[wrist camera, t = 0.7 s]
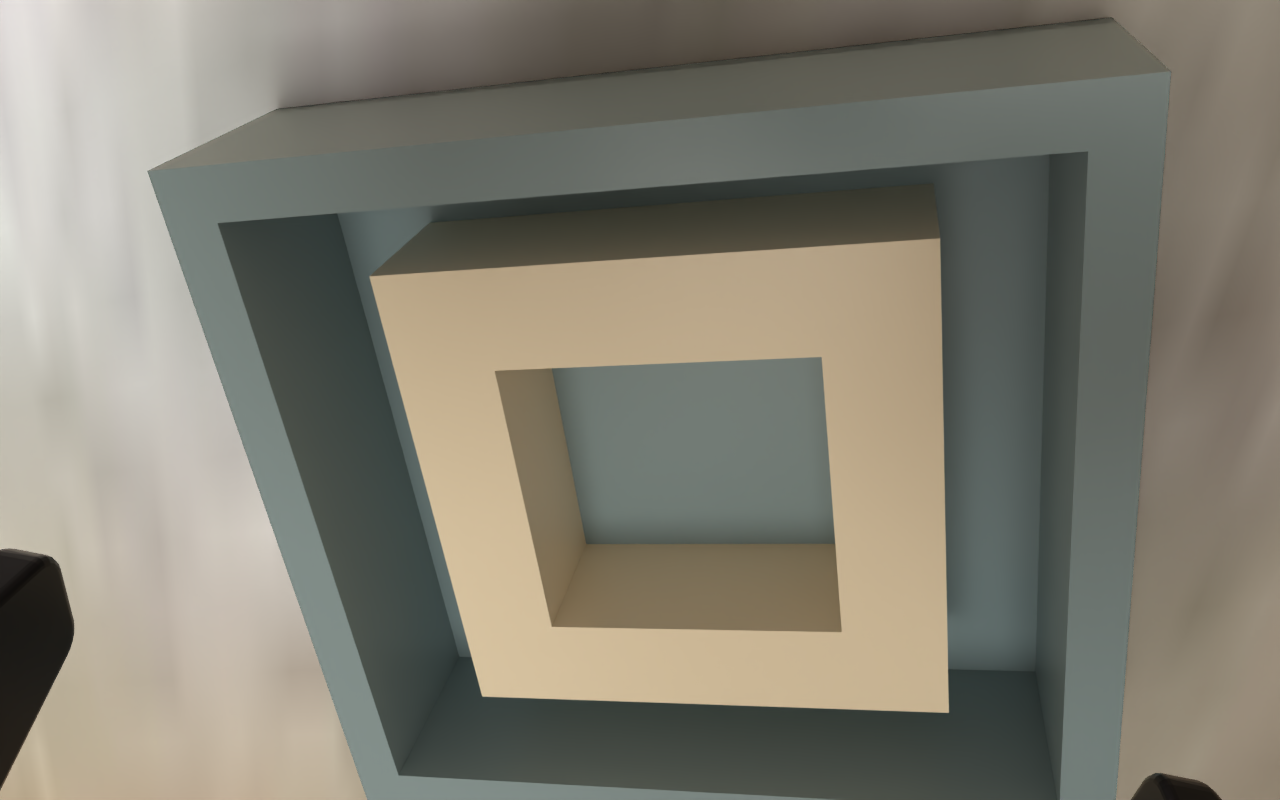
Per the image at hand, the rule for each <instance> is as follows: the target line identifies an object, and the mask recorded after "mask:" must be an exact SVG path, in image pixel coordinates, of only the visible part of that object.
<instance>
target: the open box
mask: <svg viewBox="0 0 1280 800" xmlns="http://www.w3.org/2000/svg"><path fill="white" fill-rule="evenodd" d="M1170 79H1171V71H1170V70H1169V69H1168V68H1167V67H1166V66H1165V65H1163V64H1162V63H1161V62H1160V61H1159V60H1158V59H1157V58H1156V57H1155V56H1154V55H1152V54H1151V53H1150V52H1149V51H1148V50H1147V49H1146V48H1145V47H1144V46H1143V45H1141V44H1140V43H1139V42H1138V41H1137V40H1136V39H1135V38H1134V37H1133V36H1132V35H1130V34H1129V33H1128V32H1127V31H1126V30H1125V29H1124V28H1123V27H1122V26H1121V25H1119V24H1118V23H1117V22H1116V21H1115V20H1114V19H1113V18H1103V19H1094V20H1085V21H1076V22H1067V23H1058V24H1049V25H1039V26H1030V27H1021V28H1012V29H1003V30H994V31H985V32H976V33H966V34H957V35H948V36H939V37H930V38H921V39H912V40H903V41H894V42H884V43H875V44H866V45H857V46H848V47H839V48H830V49H821V50H811V51H802V52H793V53H784V54H775V55H766V56H757V57H748V58H739V59H729V60H720V61H711V62H702V63H693V64H684V65H675V66H666V67H656V68H647V69H638V70H629V71H620V72H611V73H602V74H593V75H584V76H574V77H565V78H556V79H547V80H538V81H529V82H520V83H511V84H501V85H492V86H483V87H474V88H465V89H456V90H447V91H438V92H429V93H419V94H410V95H401V96H392V97H383V98H374V99H365V100H356V101H346V102H337V103H328V104H319V105H310V106H301V107H292V108H283V109H276V110H274V111H272V112H270V113H267V114H265V115H263V116H261V117H259V118H257V119H255V120H253V121H251V122H249V123H247V124H245V125H242V126H240V127H238V128H236V129H234V130H232V131H230V132H228V133H226V134H224V135H222V136H220V137H217V138H215V139H213V140H211V141H209V142H207V143H205V144H203V145H201V146H199V147H197V148H195V149H192V150H190V151H188V152H186V153H184V154H182V155H180V156H178V157H176V158H174V159H172V160H170V161H167V162H165V163H163V164H161V165H159V166H157V167H155V168H153V169H151V170H149V171H148V174H149V177H150V180H151V183H152V186H153V188H154V191H155V194H156V197H157V200H158V203H159V206H160V208H161V211H162V214H163V217H164V220H165V223H166V226H167V228H168V231H169V234H170V237H171V240H172V243H173V246H174V248H175V251H176V254H177V257H178V260H179V263H180V266H181V268H182V271H183V274H184V277H185V280H186V283H187V286H188V288H189V291H190V294H191V297H192V300H193V303H194V306H195V308H196V311H197V314H198V317H199V320H200V323H201V326H202V328H203V331H204V334H205V337H206V340H207V343H208V346H209V348H210V351H211V354H212V357H213V360H214V363H215V366H216V368H217V371H218V374H219V377H220V380H221V383H222V386H223V388H224V391H225V394H226V397H227V400H228V403H229V406H230V408H231V411H232V414H233V417H234V420H235V423H236V426H237V428H238V431H239V434H240V437H241V440H242V443H243V446H244V448H245V451H246V454H247V457H248V460H249V463H250V466H251V468H252V471H253V474H254V477H255V480H256V483H257V486H258V488H259V491H260V494H261V497H262V500H263V503H264V506H265V508H266V511H267V514H268V517H269V520H270V523H271V526H272V528H273V531H274V534H275V537H276V540H277V543H278V546H279V548H280V551H281V554H282V557H283V560H284V563H285V566H286V568H287V571H288V574H289V577H290V580H291V583H292V586H293V588H294V591H295V594H296V597H297V600H298V603H299V606H300V608H301V611H302V614H303V617H304V620H305V623H306V626H307V628H308V631H309V634H310V637H311V640H312V643H313V646H314V648H315V651H316V654H317V657H318V660H319V663H320V666H321V668H322V671H323V674H324V677H325V680H326V683H327V686H328V688H329V691H330V694H331V697H332V700H333V703H334V706H335V708H336V711H337V714H338V717H339V720H340V723H341V726H342V728H343V731H344V734H345V737H346V740H347V743H348V746H349V748H350V751H351V754H352V757H353V760H354V763H355V766H356V768H357V771H358V774H359V777H360V780H361V783H362V786H363V788H364V791H365V794H366V797H367V800H1116V791H1117V778H1118V765H1119V751H1120V738H1121V725H1122V712H1123V699H1124V686H1125V672H1126V659H1127V646H1128V633H1129V620H1130V606H1131V593H1132V580H1133V567H1134V554H1135V540H1136V527H1137V514H1138V501H1139V488H1140V474H1141V461H1142V448H1143V435H1144V422H1145V409H1146V395H1147V382H1148V369H1149V356H1150V343H1151V329H1152V316H1153V303H1154V290H1155V277H1156V263H1157V250H1158V237H1159V224H1160V211H1161V197H1162V184H1163V171H1164V158H1165V145H1166V132H1167V118H1168V105H1169V92H1170Z"/></svg>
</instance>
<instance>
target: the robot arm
mask: <svg viewBox="0 0 1280 800" xmlns="http://www.w3.org/2000/svg"><path fill="white" fill-rule="evenodd" d="M73 636H74V620H73V616H72V612H71V608H70V604H69V600H68V596H67V592H66V588H65V585H64V581H63V577H62V573H61V569H60V567H59V564H58V563H57V562H56V561H55V560H54V559H53V558H52V557H50V556H47V555H43V554H38V553H33V552H28V551H23V550H18V549H2V550H0V790H1V788H2V786H3V784H4V782H5V780H6V778H7V776H8V774H9V772H10V770H11V768H12V765H13V763H14V761H15V759H16V757H17V755H18V753H19V751H20V749H21V747H22V745H23V743H24V741H25V739H26V737H27V735H28V733H29V731H30V729H31V727H32V725H33V723H34V721H35V719H36V717H37V715H38V713H39V711H40V709H41V707H42V705H43V703H44V701H45V699H46V697H47V695H48V693H49V691H50V689H51V687H52V685H53V683H54V681H55V679H56V677H57V675H58V673H59V671H60V669H61V667H62V665H63V663H64V661H65V659H66V657H67V655H68V652H69V650H70V647H71V644H72V641H73ZM1131 800H1222V799H1221V798H1220V797H1219V796H1218V795H1217V794H1216V792H1215V791H1214V790H1213V789H1211V788H1210V787H1209V786H1208V785H1206V784H1204V783H1203V782H1200V781H1197V780H1193V779H1188V778H1183V777H1178V776H1173V775H1168V774H1163V773H1155V774H1153V775H1151V776H1149V777H1147V778H1146V779H1145V780H1144V781H1143V782H1142V784H1141V785H1140V787H1139V788H1138V790H1137V791H1136V793H1135V794H1134V796H1133V797H1132V799H1131Z"/></svg>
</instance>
